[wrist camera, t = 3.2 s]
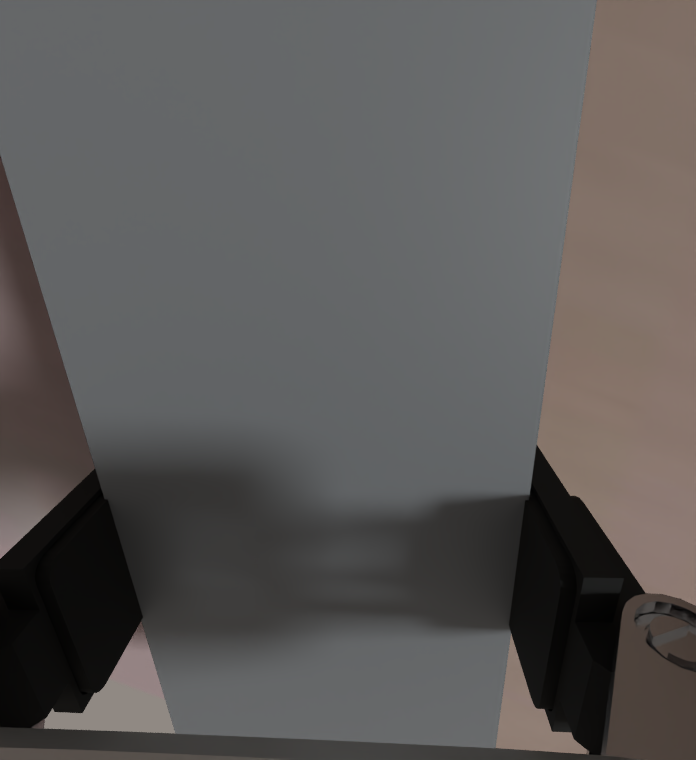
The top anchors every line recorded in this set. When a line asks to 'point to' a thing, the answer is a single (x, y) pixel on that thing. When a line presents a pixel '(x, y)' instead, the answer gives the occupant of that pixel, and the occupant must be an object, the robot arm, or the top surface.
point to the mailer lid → (306, 331)
